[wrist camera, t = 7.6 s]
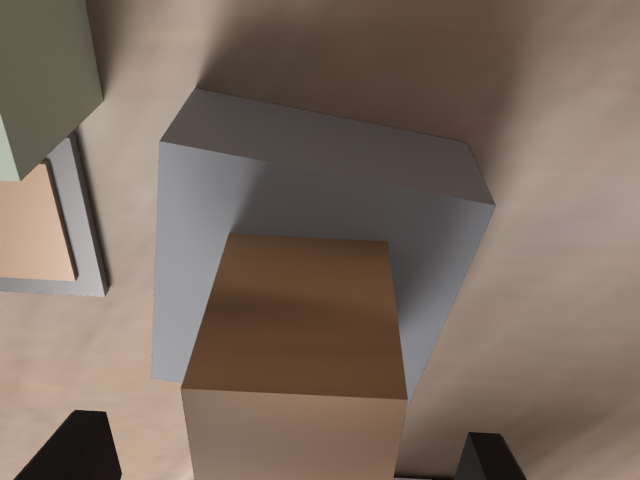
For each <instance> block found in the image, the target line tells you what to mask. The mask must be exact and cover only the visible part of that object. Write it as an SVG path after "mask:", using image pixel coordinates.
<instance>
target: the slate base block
mask: <svg viewBox="0 0 640 480" xmlns="http://www.w3.org/2000/svg"><path fill="white" fill-rule="evenodd" d="M495 207H496V204H495V202H494V200H493V198H492V196H491V194H490V192H489V189H488V187H487V185H486V183H485V181H484V179H483V177H482V174H481V172H480V170H479V168H478V166H477V164H476V162H475V159H474V157H473V155H472V153H471V151H470V149H469V147H468V144H467V143H466V142H461V141H456V140H451V139H446V138H441V137H436V136H432V135H427V134H422V133H417V132H412V131H407V130H402V129H397V128H392V127H387V126H382V125H377V124H372V123H367V122H362V121H357V120H352V119H347V118H342V117H337V116H332V115H327V114H322V113H317V112H312V111H307V110H302V109H297V108H292V107H287V106H282V105H277V104H272V103H267V102H262V101H257V100H252V99H247V98H242V97H237V96H232V95H227V94H222V93H217V92H212V91H207V90H202V89H197V88H195V89H194V90H193V92H192V93H191V95H190V96H189V98H188V99H187V101H186V102H185V104H184V105H183V107H182V108H181V110H180V111H179V113H178V114H177V116H176V117H175V119H174V120H173V122H172V123H171V125H170V126H169V128H168V129H167V131H166V132H165V134H164V135H163V137H162V138H161V140H160V141H159V168H158V197H157V225H156V253H155V281H154V310H153V338H152V366H151V378H152V379H159V380H165V381H172V382H178V383H183V380H184V376H185V373H186V370H187V367H188V363H189V360H190V357H191V354H192V351H193V347H194V344H195V341H196V338H197V334H198V331H199V328H200V325H201V322H202V318H203V315H204V312H205V309H206V305H207V302H208V299H209V296H210V293H211V289H212V286H213V283H214V280H215V276H216V273H217V270H218V267H219V264H220V260H221V257H222V254H223V251H224V247H225V244H226V241H227V238H228V234H242V235H263V236H284V237H305V238H326V239H347V240H369V241H388V247H389V255H390V263H391V271H392V279H393V286H394V294H395V302H396V310H397V318H398V325H399V333H400V341H401V349H402V356H403V364H404V372H405V380H406V388H407V395H408V403H407V408H408V405H409V403H410V401H411V398H412V396H413V394H414V392H415V389H416V387H417V385H418V382H419V380H420V378H421V376H422V373H423V371H424V369H425V366H426V364H427V362H428V360H429V357H430V355H431V353H432V351H433V348H434V346H435V344H436V341H437V339H438V337H439V335H440V332H441V330H442V328H443V325H444V323H445V321H446V319H447V316H448V314H449V312H450V309H451V307H452V305H453V303H454V300H455V298H456V296H457V293H458V291H459V289H460V287H461V284H462V282H463V280H464V277H465V275H466V273H467V271H468V268H469V266H470V264H471V261H472V259H473V257H474V255H475V252H476V250H477V248H478V246H479V243H480V241H481V239H482V236H483V234H484V232H485V230H486V227H487V225H488V223H489V220H490V218H491V216H492V214H493V211H494V209H495ZM407 408H406V410H407Z"/></svg>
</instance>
